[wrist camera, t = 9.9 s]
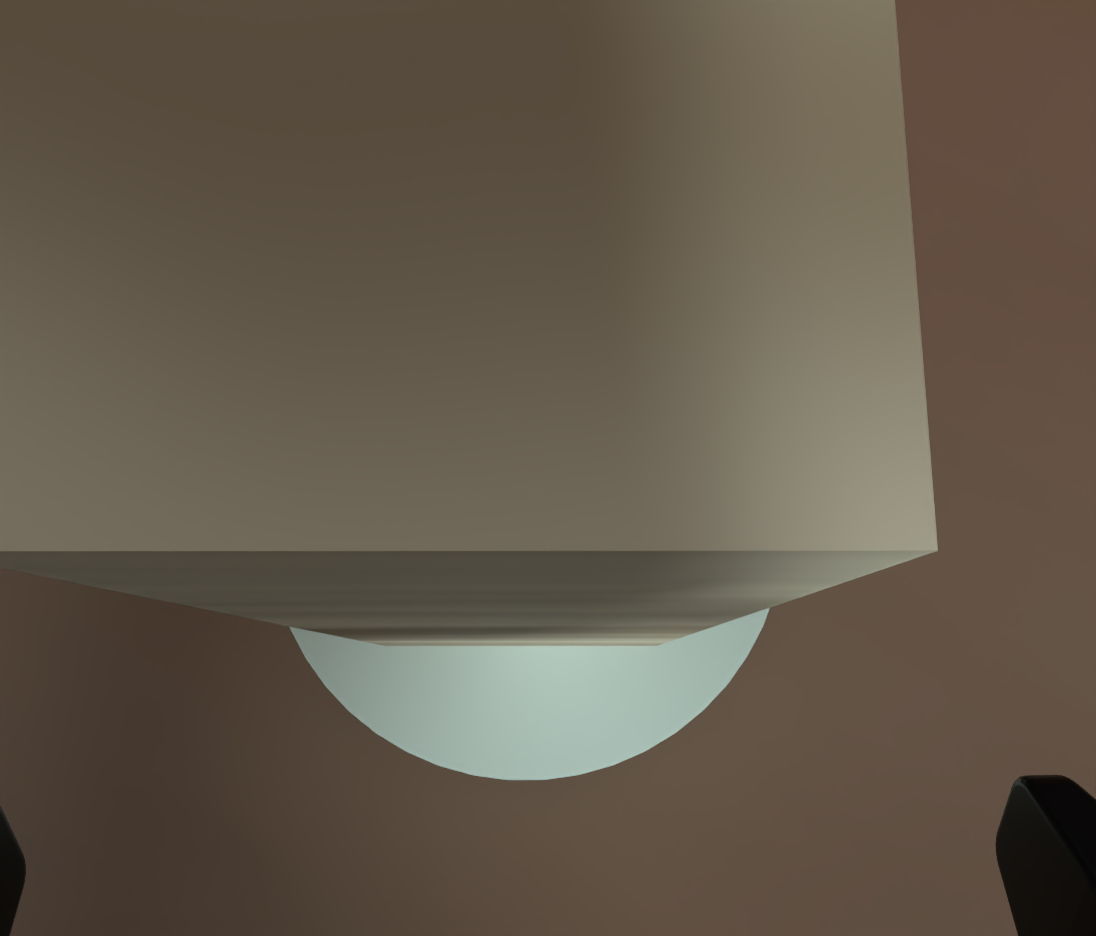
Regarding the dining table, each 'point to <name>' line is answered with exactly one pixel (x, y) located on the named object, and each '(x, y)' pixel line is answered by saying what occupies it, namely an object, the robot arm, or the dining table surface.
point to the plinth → (530, 697)
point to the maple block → (459, 311)
